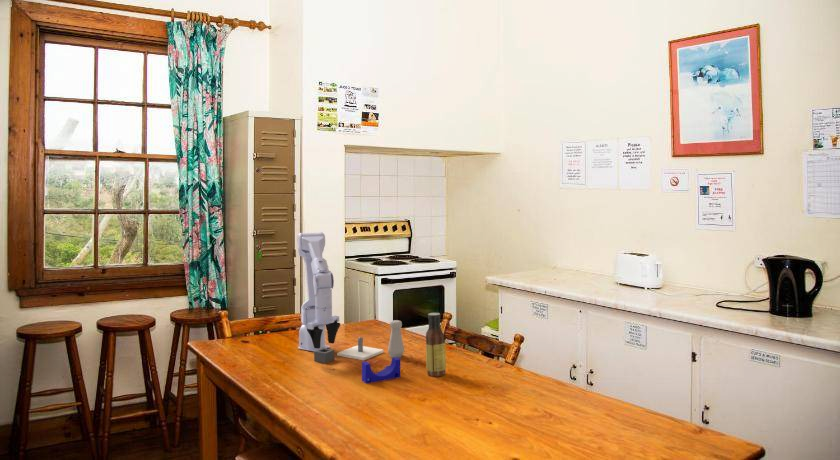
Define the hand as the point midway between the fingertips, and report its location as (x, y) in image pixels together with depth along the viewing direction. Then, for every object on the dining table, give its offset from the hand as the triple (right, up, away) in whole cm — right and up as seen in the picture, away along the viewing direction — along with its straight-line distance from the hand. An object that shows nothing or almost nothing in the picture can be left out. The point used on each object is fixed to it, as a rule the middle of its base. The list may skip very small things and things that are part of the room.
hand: (324, 345), depth 200 cm
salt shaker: (+25, -5, +5) cm, 26 cm away
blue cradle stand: (+21, -7, -19) cm, 29 cm away
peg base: (+12, -5, +8) cm, 15 cm away
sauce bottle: (+39, -7, -15) cm, 42 cm away
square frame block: (0, -5, 0) cm, 5 cm away
